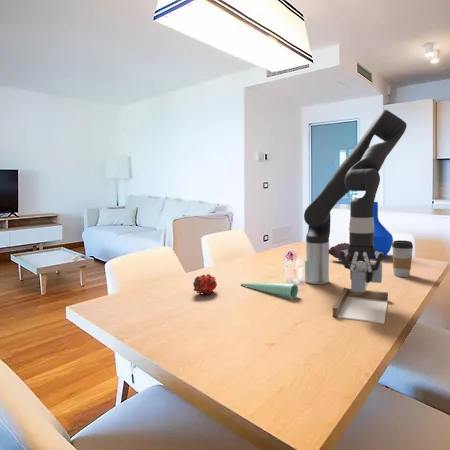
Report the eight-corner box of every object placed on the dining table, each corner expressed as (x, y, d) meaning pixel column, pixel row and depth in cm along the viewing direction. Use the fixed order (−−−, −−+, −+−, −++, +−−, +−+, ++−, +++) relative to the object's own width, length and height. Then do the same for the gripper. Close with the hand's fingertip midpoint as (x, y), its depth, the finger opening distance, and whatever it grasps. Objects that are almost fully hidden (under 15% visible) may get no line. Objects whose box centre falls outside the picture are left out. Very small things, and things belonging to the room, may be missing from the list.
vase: (367, 251, 213) (368, 200, 210) (398, 255, 199) (400, 201, 195) (350, 256, 202) (350, 202, 198) (382, 261, 188) (383, 203, 184)
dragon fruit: (192, 301, 139) (213, 297, 149) (206, 291, 135) (227, 288, 144) (184, 281, 143) (205, 279, 152) (198, 271, 138) (218, 269, 147)
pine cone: (324, 261, 191) (324, 243, 190) (331, 258, 199) (331, 240, 197) (358, 265, 180) (358, 245, 179) (364, 262, 187) (365, 242, 186)
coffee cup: (394, 272, 166) (394, 239, 164) (414, 274, 161) (415, 241, 159) (388, 276, 160) (389, 242, 158) (409, 278, 155) (410, 244, 153)
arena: (332, 316, 116) (332, 307, 115) (343, 295, 136) (343, 287, 135) (384, 323, 109) (384, 314, 109) (387, 300, 129) (387, 292, 129)
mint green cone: (244, 272, 155) (298, 282, 136) (244, 284, 156) (298, 297, 137) (236, 274, 151) (290, 285, 132) (236, 287, 152) (290, 300, 133)
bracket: (357, 277, 128) (357, 261, 128) (381, 279, 125) (382, 262, 124) (351, 290, 114) (351, 272, 113) (378, 293, 111) (379, 274, 110)
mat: (337, 317, 115) (337, 316, 115) (347, 297, 134) (347, 296, 134) (384, 323, 109) (384, 322, 109) (387, 301, 128) (387, 300, 128)
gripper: (385, 229, 119) (384, 280, 121) (340, 228, 126) (340, 277, 128) (384, 233, 113) (383, 287, 115) (337, 231, 119) (337, 282, 121)
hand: (360, 281), depth 121 cm, fingers closed on bracket, 4 cm apart
